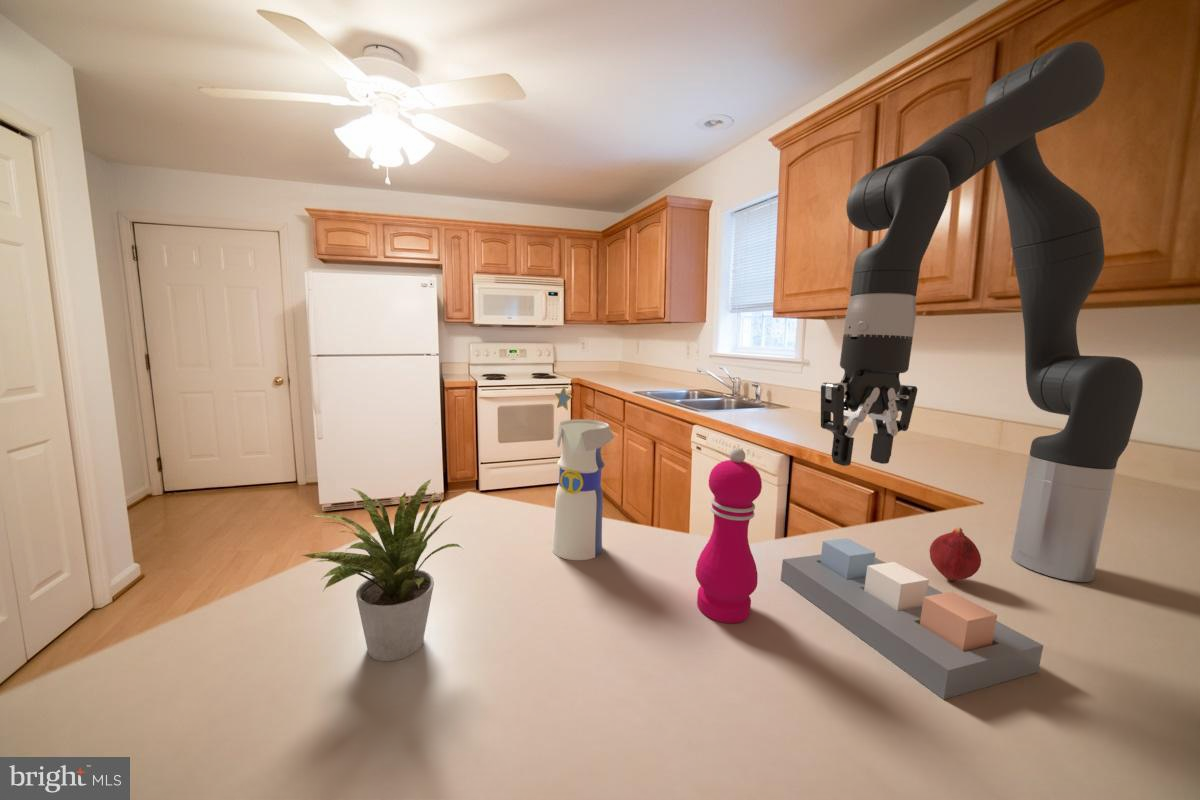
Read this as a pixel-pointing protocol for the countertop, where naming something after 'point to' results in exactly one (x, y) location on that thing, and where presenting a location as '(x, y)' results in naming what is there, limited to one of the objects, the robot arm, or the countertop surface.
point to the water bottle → (579, 487)
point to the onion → (955, 555)
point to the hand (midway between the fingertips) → (860, 462)
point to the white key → (896, 585)
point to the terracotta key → (958, 621)
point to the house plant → (389, 576)
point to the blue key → (846, 558)
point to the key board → (912, 633)
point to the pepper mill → (729, 542)
